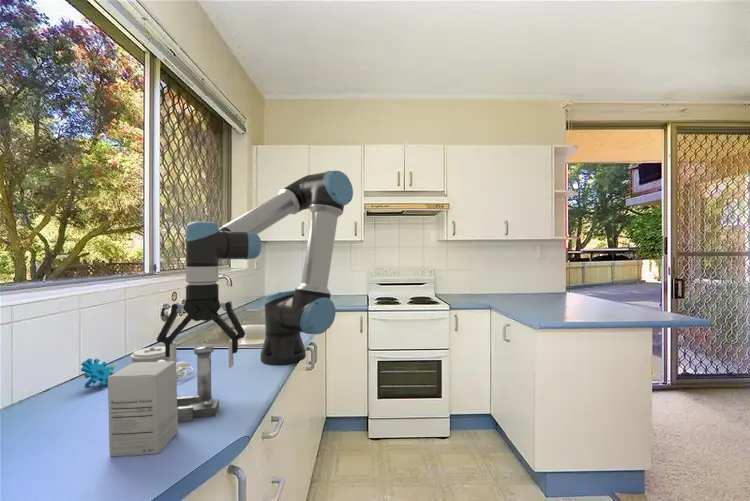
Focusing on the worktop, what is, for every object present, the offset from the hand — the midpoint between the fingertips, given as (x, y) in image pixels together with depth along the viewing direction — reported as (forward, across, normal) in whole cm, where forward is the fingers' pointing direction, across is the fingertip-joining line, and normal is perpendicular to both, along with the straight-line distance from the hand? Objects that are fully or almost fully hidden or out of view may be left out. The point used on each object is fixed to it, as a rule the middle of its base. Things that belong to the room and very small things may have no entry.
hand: (202, 367), depth 97 cm
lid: (+8, +24, -39) cm, 47 cm away
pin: (+8, 0, 0) cm, 8 cm away
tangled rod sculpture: (+9, +14, -19) cm, 25 cm away
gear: (+9, +31, -19) cm, 37 cm away
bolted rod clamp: (+8, +4, +9) cm, 12 cm away
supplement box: (+9, +6, +21) cm, 23 cm away
